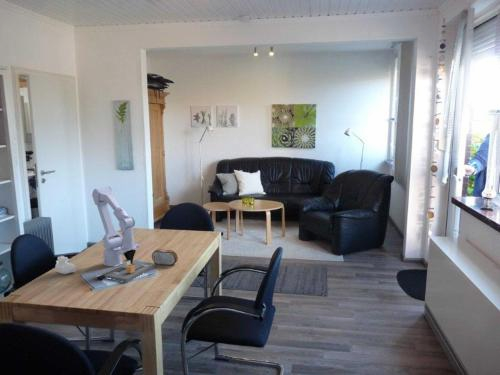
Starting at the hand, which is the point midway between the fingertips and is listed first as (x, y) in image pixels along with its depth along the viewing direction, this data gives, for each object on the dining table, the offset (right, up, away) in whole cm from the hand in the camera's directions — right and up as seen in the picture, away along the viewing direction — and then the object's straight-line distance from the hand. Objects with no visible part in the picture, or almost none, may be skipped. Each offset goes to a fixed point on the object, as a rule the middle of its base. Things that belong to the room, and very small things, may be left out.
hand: (130, 263), depth 222 cm
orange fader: (+3, -3, -10) cm, 10 cm away
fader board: (+2, -4, -4) cm, 6 cm away
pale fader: (-1, -2, -2) cm, 3 cm away
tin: (+18, -2, +7) cm, 19 cm away
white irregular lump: (-34, -5, -3) cm, 35 cm away
